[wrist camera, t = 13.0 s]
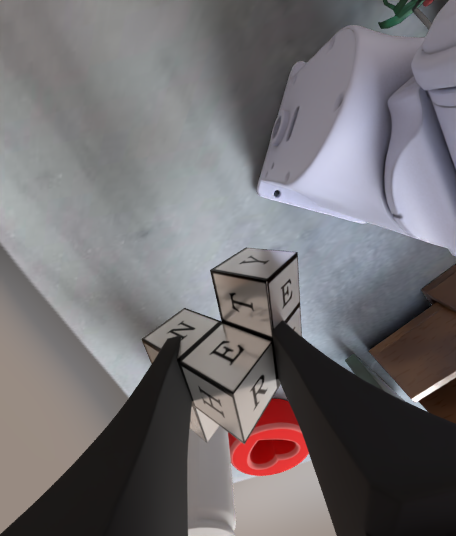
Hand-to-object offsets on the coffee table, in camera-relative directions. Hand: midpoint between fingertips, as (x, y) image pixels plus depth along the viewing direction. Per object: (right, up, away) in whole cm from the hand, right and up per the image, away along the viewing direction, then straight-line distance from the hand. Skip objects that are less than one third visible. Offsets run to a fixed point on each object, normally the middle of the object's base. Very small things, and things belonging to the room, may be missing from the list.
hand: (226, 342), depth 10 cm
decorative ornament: (+5, -16, +18) cm, 25 cm away
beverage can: (-3, -7, +13) cm, 15 cm away
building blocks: (+1, -4, +2) cm, 5 cm away
